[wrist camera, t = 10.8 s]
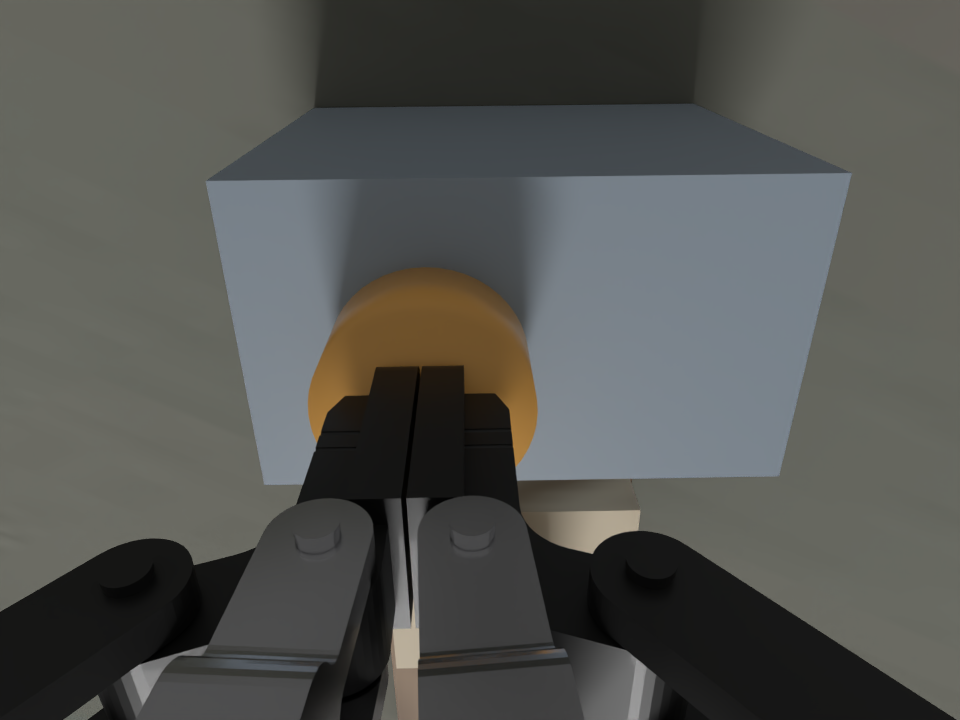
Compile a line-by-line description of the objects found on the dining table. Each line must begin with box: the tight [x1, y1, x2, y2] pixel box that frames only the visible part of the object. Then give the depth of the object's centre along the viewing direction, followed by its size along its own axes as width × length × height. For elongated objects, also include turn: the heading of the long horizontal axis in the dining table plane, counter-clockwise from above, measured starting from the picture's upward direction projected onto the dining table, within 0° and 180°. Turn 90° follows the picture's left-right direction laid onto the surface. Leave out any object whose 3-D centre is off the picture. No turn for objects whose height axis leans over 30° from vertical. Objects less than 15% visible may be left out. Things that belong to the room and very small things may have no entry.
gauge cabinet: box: [206, 104, 852, 485], centre depth 19 cm, size 13×7×10 cm, turn 90°
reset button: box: [308, 267, 538, 467], centre depth 13 cm, size 4×4×2 cm
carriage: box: [393, 479, 641, 669], centre depth 22 cm, size 8×7×9 cm
